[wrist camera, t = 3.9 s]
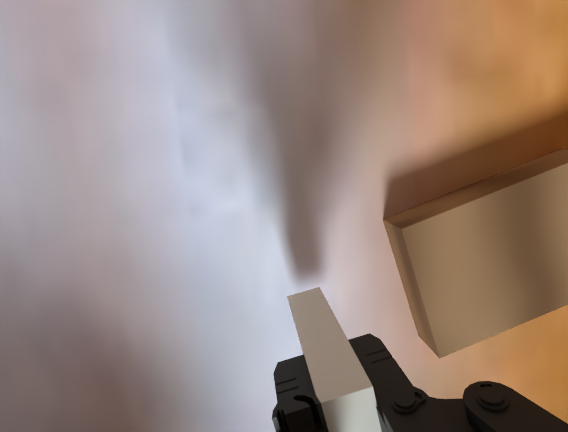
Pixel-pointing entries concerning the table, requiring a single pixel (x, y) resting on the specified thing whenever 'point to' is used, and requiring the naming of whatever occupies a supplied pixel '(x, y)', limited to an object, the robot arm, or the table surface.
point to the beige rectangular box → (486, 254)
